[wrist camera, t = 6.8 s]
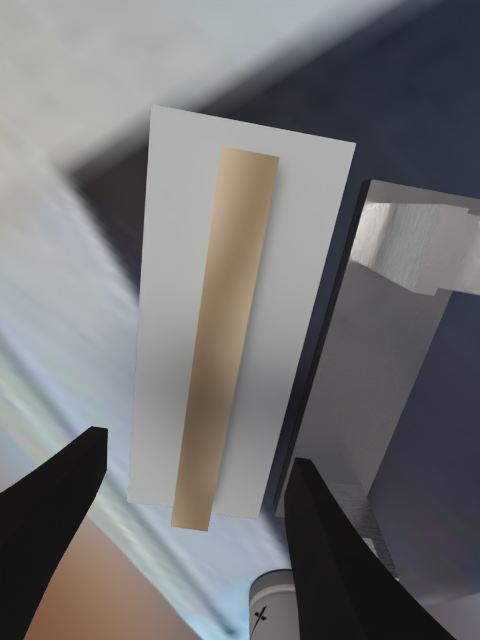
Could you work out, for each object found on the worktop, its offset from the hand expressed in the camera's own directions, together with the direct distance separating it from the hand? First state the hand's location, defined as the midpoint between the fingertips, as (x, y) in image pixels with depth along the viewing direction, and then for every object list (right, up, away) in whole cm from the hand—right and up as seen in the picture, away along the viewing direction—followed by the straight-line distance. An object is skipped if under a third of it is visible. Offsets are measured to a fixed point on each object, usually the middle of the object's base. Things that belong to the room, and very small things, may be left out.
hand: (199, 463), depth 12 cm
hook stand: (+9, +2, +9) cm, 12 cm away
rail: (0, +3, +8) cm, 8 cm away
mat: (0, +3, +8) cm, 9 cm away
